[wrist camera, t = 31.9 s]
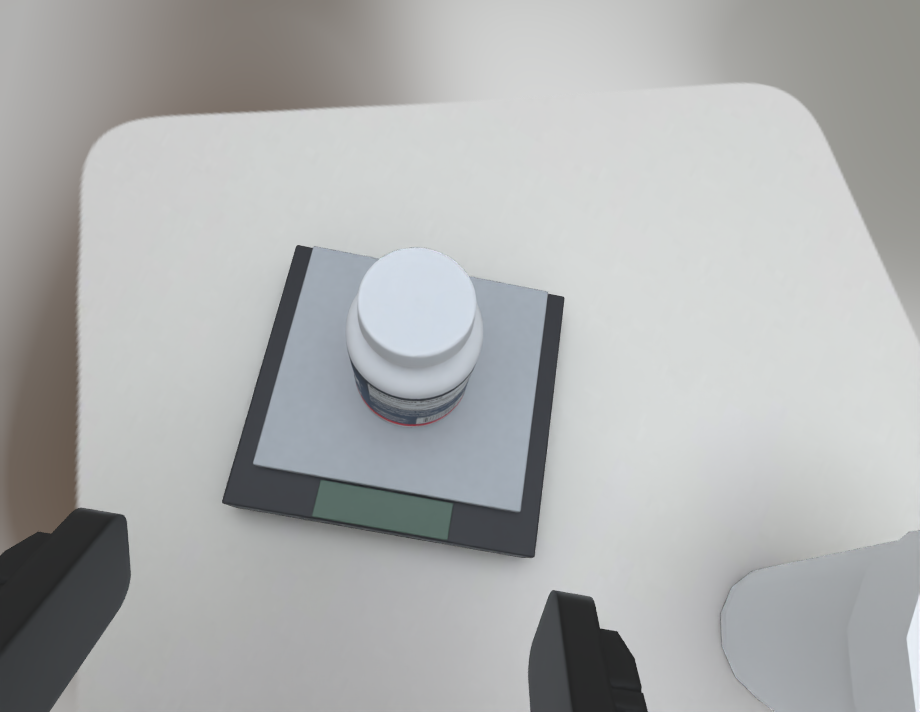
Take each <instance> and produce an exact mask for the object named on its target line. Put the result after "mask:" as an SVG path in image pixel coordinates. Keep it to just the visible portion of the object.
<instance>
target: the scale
mask: <svg viewBox="0 0 920 712" xmlns="http://www.w3.org/2000/svg"><path fill="white" fill-rule="evenodd" d="M378 260H379V259H377V258H372V257H367V256H362V255H357V254H352V253H347V252H341V251H336V250H331V249H326V248H321V247H316V246H314V247H313V248H310V247H305V246H300V245H297V246H296V249H295V252H294V256H293V259H292V263H291V266H290V270H289V273H288V277H287V280H286V283H285V287H284V290H283V294H282V297H281V301H280V304H279V307H278V311H277V314H276V318H275V321H274V325H273V328H272V332H271V335H270V338H269V342H268V345H267V349H266V352H265V356H264V359H263V363H262V366H261V369H260V373H259V376H258V380H257V383H256V387H255V390H254V393H253V397H252V400H251V404H250V407H249V411H248V414H247V418H246V421H245V424H244V428H243V431H242V435H241V438H240V442H239V445H238V449H237V452H236V455H235V459H234V462H233V466H232V469H231V473H230V476H229V480H228V483H227V486H226V490H225V493H224V497H223V500H222V503H224V504H227V505H230V506H233V507H237V508H242V509H248V510H254V511H259V512H265V513H271V514H276V515H282V516H288V517H293V518H299V519H305V520H310V521H316V522H322V523H328V524H333V525H339V526H345V527H350V528H356V529H362V530H367V531H373V532H379V533H384V534H390V535H396V536H402V537H407V538H413V539H419V540H424V541H430V542H436V543H441V544H447V545H453V546H459V547H464V548H470V549H476V550H481V551H487V552H493V553H498V554H504V555H510V556H515V557H521V558H533V557H534V556H535V548H536V540H537V531H538V522H539V514H540V505H541V496H542V488H543V479H544V471H545V462H546V453H547V445H548V436H549V427H550V419H551V410H552V402H553V393H554V384H555V376H556V367H557V358H558V350H559V341H560V333H561V324H562V315H563V307H564V297H562V296H557V295H552V294H548V292H547V291H542V290H537V289H531V288H526V287H521V286H516V285H511V284H506V283H501V282H495V281H490V280H485V279H480V278H475V277H470V276H469V278H470V279H471V281H472V284H473V286H474V289H475V293H476V300H477V305H478V307H479V309H480V312H481V316H482V320H483V343H482V348H481V352H480V355H479V357H478V360H477V362H476V365H475V367H474V370H473V372H472V373H471V376H470V378H469V381H468V383H467V387H466V389H465V392H464V395H463V397H462V399H461V400H460V402H459V403H458V405H457V406H456V408H455V409H454V410H453V411H452V412H451V413H450V414H449V415H447V416H446V417H445V418H443V419H441V420H440V421H438V422H436V423H433V424H430V425H427V426H423V427H414V428H413V427H402V426H397V425H394V424H391V423H388V422H386V421H384V420H383V419H381V418H379V417H378V416H377V415H375V414H374V413H373V412H372V411H371V410H370V409H369V408H368V407H367V405H366V404H365V403H364V401H363V399H362V398H361V396H360V393H359V391H358V388H357V385H356V381H355V377H354V373H353V369H352V365H351V361H350V357H349V354H348V350H347V344H346V335H345V332H346V320H347V315H348V312H349V308H350V306H351V304H352V302H353V300H354V298H355V296H356V295H357V293H358V290H359V286H360V283H361V281H362V279H363V277H364V276H365V274H366V272H367V271H368V270H369V268H370V267H371V266H372V265H373V264H374V263H375V262H376V261H378Z"/></svg>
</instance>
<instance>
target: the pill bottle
mask: <svg viewBox="0 0 920 712" xmlns="http://www.w3.org/2000/svg"><path fill="white" fill-rule="evenodd" d="M345 335H346V344H347V350H348V354H349V357H350V361H351V365H352V369H353V373H354V377H355V381H356V385H357V388H358V391H359V393H360V396H361V398H362V399H363V401H364V403H365V404H366V405H367V407H368V408H369V409H370V410H371V411H372V412H373V413H374V414H375V415H377V416H378V417H379V418H381V419H383V420H384V421H386V422H388V423H391V424H394V425H397V426H402V427H413V428H414V427H423V426H427V425H430V424H433V423H436V422H438V421H440V420H441V419H443V418H445V417H446V416H447V415H449V414H450V413H451V412H452V411H453V410H454V409H455V408H456V406H457V405H458V403H459V402H460V400H461V399H462V397H463V395H464V392H465V389H466V387H467V383H468V381H469V378H470V376H471V373H472V372H473V370H474V367H475V365H476V362H477V360H478V357H479V355H480V352H481V348H482V343H483V320H482V316H481V312H480V309H479V307H478V305H477V300H476V293H475V289H474V286H473V284H472V281H471V279H470V278H469V276H468V274H467V273H466V271H465V270H464V269H463V268H462V267H461V266H460V265H459V264H458V263H457V262H456V261H455V260H453V259H452V258H450V257H449V256H447V255H445V254H443V253H441V252H438V251H435V250H432V249H428V248H419V247H411V248H405V249H400V250H396V251H393V252H391V253H389V254H387V255H385V256H383V257H382V258H380V259H379V260H378V261H376V262H375V263H374V264H373V265H372V266H371V267H370V268H369V270H368V271H367V272H366V274H365V276H364V277H363V279H362V281H361V283H360V286H359V290H358V293H357V295H356V296H355V298H354V300H353V302H352V304H351V306H350V308H349V312H348V315H347V320H346V332H345Z"/></svg>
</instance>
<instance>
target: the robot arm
mask: <svg viewBox="0 0 920 712" xmlns="http://www.w3.org/2000/svg"><path fill="white" fill-rule="evenodd" d="M130 577H131V570H130V557H129V544H128V530H127V520H126V518H125V516H124V515H121V514H115V513H110V512H104V511H98V510H92V509H86V508H78V509H76V510H74V511H73V512H72V513H71V514H70V515H69V516H68V517H67V518H66V519H65V520H64V521H63V522H62V523H61V524H60V525H59V526H58V527H57V529H55V531H54V532H53V533H52V534H49V533H42V532H37V533H35V534H34V535H32V536H30V537H28V538H27V539H25V540H23V541H21V542H20V543H18V544H16V545H15V546H13V547H11V548H10V549H8V550H6V551H5V552H4V553H3V554H2V555H1V556H0V712H50V710H51V709H52V707H53V706H54V704H55V703H56V701H57V700H58V698H59V697H60V695H61V694H62V692H63V691H64V689H65V688H66V687H67V685H68V684H69V682H70V681H71V679H72V678H73V676H74V675H75V673H76V672H77V670H78V669H79V667H80V666H81V665H82V663H83V662H84V660H85V659H86V657H87V656H88V654H89V653H90V651H91V650H92V648H93V647H94V645H95V644H96V643H97V641H98V640H99V638H100V637H101V635H102V634H103V632H104V631H105V629H106V628H107V626H108V625H109V623H110V622H111V621H112V619H113V618H114V616H115V615H116V613H117V612H118V610H119V609H120V607H121V605H122V603H123V601H124V599H125V596H126V594H127V591H128V587H129V583H130ZM528 681H529V696H530V711H531V712H648V711H647V707H646V703H645V699H644V695H643V693H641V688H642V687H641V683H640V679H639V675H638V671H637V667H636V663H635V659H634V657H633V655H632V654H631V652H630V651H629V649H628V648H627V646H626V644H625V643H624V641H623V640H622V638H621V637H620V635H619V633H618V632H617V631H611V630H605V629H600V627H599V622H598V617H597V612H596V607H595V603H594V600H593V598H592V597H590V596H584V595H578V594H572V593H566V592H561V591H555V590H553V591H551V593H550V594H549V597H548V599H547V602H546V605H545V608H544V611H543V614H542V616H541V619H540V622H539V625H538V628H537V631H536V633H535V636H534V639H533V642H532V646H531V650H530V656H529V667H528Z"/></svg>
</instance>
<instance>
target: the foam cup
mask: <svg viewBox="0 0 920 712" xmlns="http://www.w3.org/2000/svg"><path fill="white" fill-rule="evenodd" d="M721 638H722V648H723V650H724V652H725V655H726V657H727V659H728V661H729V664H730V666H731V668H732V671H733V673H734V675H735V677H736V678H737V679H738V680H739V681H740V682H741V683H742V684H743V685H744V686H745V687H746V688H747V689H748V690H749V691H750V692H751V693H752V694H753V695H754V696H755V697H756V698H757V699H758V700H759V701H762V702H763V703H764V704H765V705H766V706H767V707H769V708H770V709H772V710H773V711H775V712H920V530H918V531H911V532H908V533H907V534H906V535H904V536H903V537H902V538H901V539H900V540H898V541H893V542H888V543H883V544H878V545H874V546H869V547H864V548H859V549H854V550H849V551H845V552H840V553H835V554H830V555H825V556H820V557H816V558H811V559H806V560H801V561H796V562H791V563H786V564H782V565H777V566H772V567H767V568H762V569H758V570H755V571H751V572H750V573H749V574H748V575H746V576H745V577H744V578H743V579H741V580H740V581H739V582H738V583H737V584H735V585H734V586H733V587H732V588H731V590H730V593H729V595H728V597H727V600H726V602H725V605H724V607H723V610H722V612H721Z"/></svg>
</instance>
